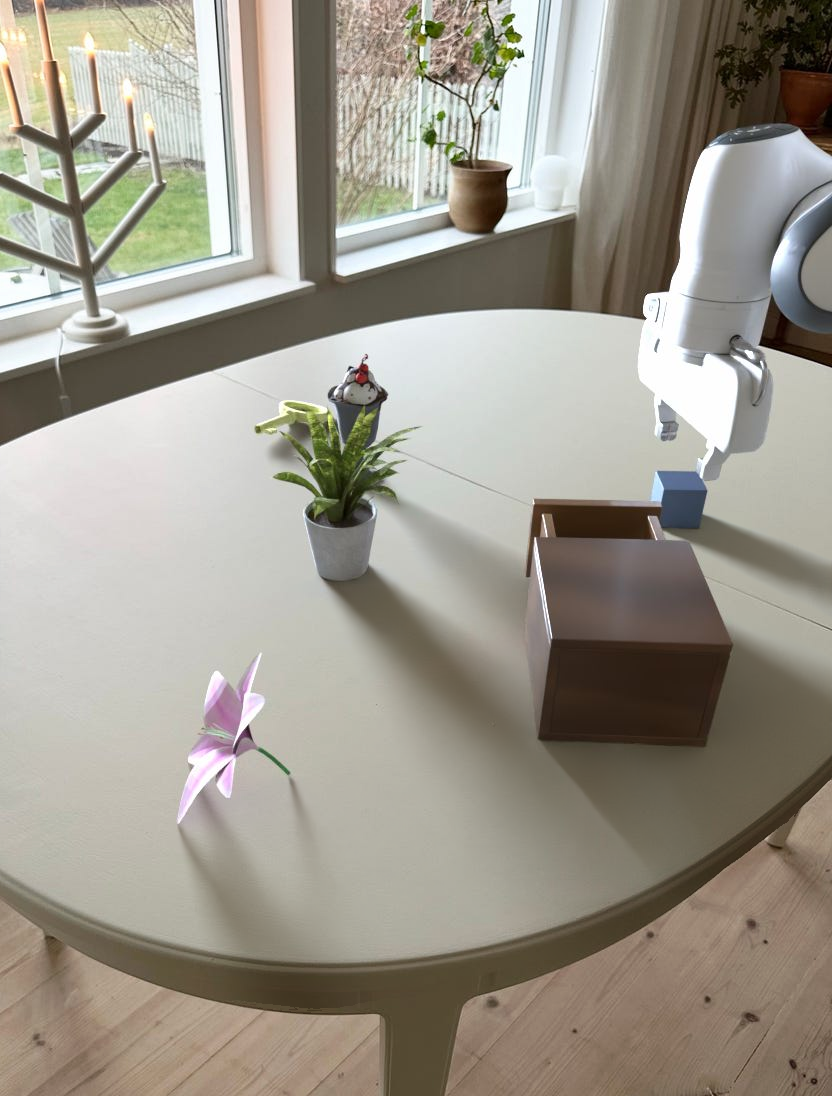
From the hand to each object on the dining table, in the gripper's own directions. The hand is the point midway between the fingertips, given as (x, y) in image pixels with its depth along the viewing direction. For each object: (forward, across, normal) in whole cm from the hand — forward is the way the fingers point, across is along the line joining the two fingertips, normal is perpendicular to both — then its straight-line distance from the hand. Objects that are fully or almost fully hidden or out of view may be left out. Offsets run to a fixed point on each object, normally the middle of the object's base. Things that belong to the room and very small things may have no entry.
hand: (684, 457), depth 97 cm
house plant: (+7, -4, +36) cm, 37 cm away
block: (+7, 0, 0) cm, 7 cm away
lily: (+7, -31, +49) cm, 58 cm away
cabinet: (+7, -26, +18) cm, 32 cm away
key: (+7, +33, +37) cm, 50 cm away
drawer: (+6, -14, +15) cm, 21 cm away
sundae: (+7, +16, +31) cm, 36 cm away
